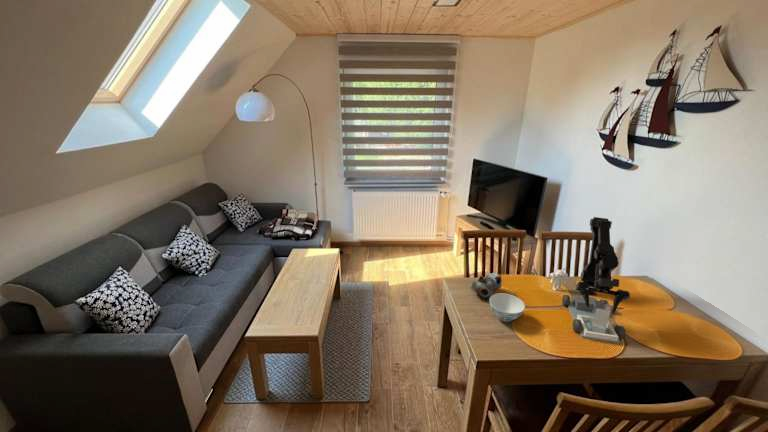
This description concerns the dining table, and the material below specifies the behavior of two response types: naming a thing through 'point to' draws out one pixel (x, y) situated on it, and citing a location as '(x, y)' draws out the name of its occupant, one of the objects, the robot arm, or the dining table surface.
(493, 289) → the grey lumpy piece
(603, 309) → the grey plastic box
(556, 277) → the hat wearing toy figure
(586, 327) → the chassis
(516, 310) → the chinaware
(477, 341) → the dining table surface
